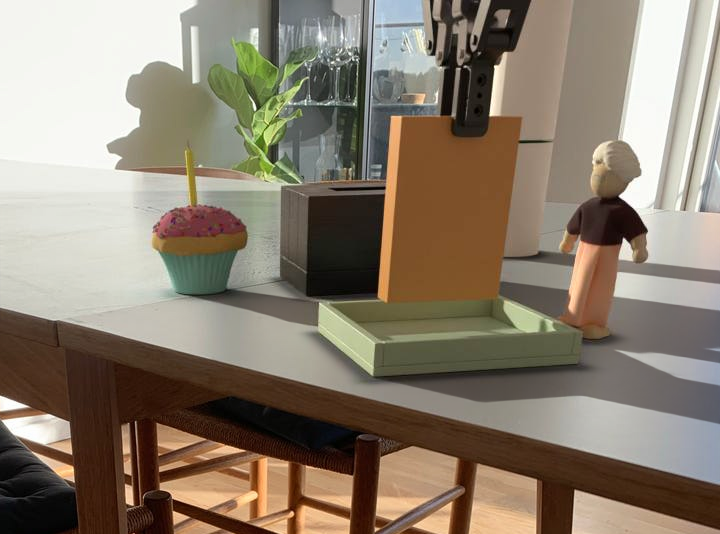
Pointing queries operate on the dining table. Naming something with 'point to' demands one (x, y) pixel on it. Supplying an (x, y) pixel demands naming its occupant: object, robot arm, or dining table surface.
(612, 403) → the dining table surface
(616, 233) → the grandmother figurine
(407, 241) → the toast
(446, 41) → the robot arm
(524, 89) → the cylindrical container
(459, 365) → the tray
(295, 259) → the wooden tissue box
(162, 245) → the cupcake
